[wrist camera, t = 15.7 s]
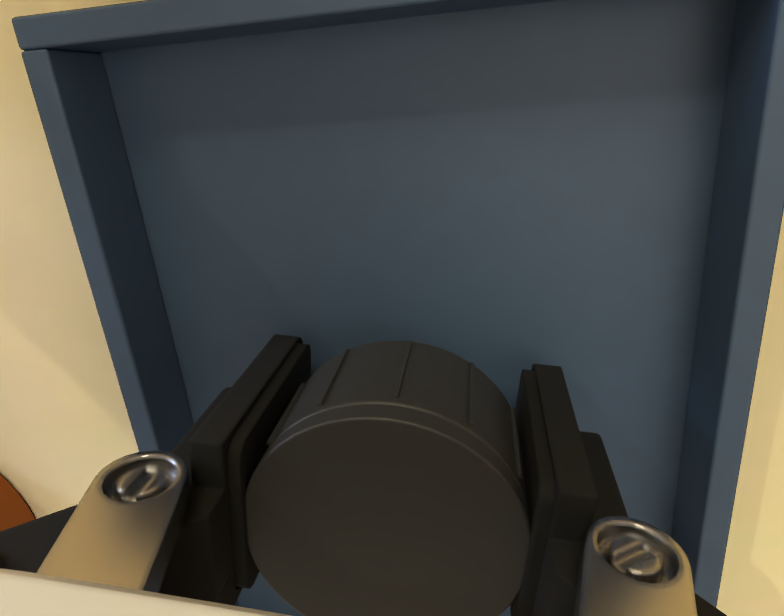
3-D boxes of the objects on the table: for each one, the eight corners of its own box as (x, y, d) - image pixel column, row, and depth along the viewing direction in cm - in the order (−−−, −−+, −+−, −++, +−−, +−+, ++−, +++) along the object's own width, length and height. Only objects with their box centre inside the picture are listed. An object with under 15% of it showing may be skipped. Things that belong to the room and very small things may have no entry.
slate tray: (668, 655, 15) (695, 737, 13) (238, 622, 17) (208, 689, 15) (764, -55, 9) (836, -90, 7) (88, 27, 11) (9, 16, 9)
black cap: (325, 304, 10) (276, 373, 8) (560, 389, 10) (586, 485, 8) (270, 488, 12) (217, 590, 9) (469, 560, 12) (467, 681, 9)
